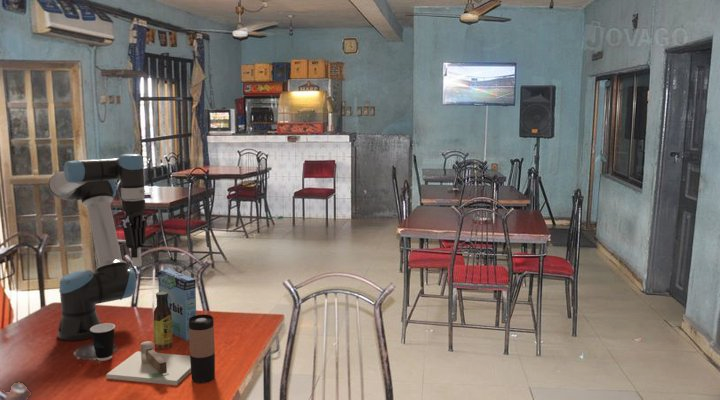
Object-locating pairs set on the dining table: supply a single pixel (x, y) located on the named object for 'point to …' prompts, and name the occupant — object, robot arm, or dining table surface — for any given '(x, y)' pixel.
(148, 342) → the grey hammer
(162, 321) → the sauce bottle
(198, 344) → the travel mug
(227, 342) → the dining table surface
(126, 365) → the board
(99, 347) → the dixie cup
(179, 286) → the gum box
